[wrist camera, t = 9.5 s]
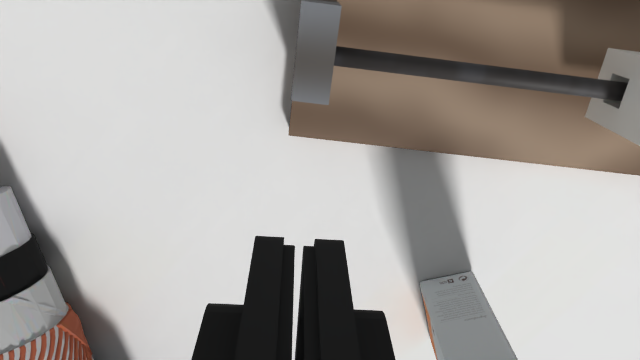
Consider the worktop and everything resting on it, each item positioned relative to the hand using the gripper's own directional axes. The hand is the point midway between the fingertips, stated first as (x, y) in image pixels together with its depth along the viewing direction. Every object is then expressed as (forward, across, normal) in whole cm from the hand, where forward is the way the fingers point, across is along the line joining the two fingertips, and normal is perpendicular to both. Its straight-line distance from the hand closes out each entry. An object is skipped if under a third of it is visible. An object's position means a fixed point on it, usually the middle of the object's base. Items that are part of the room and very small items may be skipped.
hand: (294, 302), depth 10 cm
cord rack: (+24, -15, -1) cm, 28 cm away
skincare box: (+24, -13, +18) cm, 33 cm away
